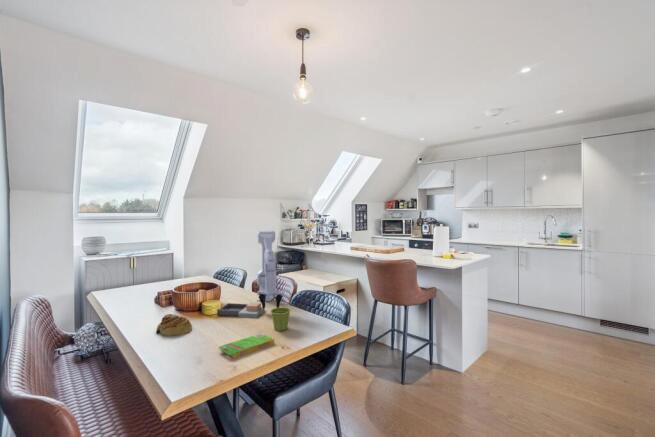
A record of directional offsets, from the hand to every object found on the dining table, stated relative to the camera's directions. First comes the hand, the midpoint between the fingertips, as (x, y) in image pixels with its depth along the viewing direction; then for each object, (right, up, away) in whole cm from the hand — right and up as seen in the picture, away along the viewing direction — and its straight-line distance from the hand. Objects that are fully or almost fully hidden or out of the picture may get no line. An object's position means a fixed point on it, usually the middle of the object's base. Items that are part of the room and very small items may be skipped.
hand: (270, 308), depth 170 cm
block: (-10, -1, +2) cm, 10 cm away
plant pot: (+9, -4, -22) cm, 23 cm away
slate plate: (-10, -3, 0) cm, 11 cm away
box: (-21, -3, +2) cm, 21 cm away
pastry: (-40, -4, -24) cm, 47 cm away
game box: (-2, -5, -42) cm, 42 cm away
